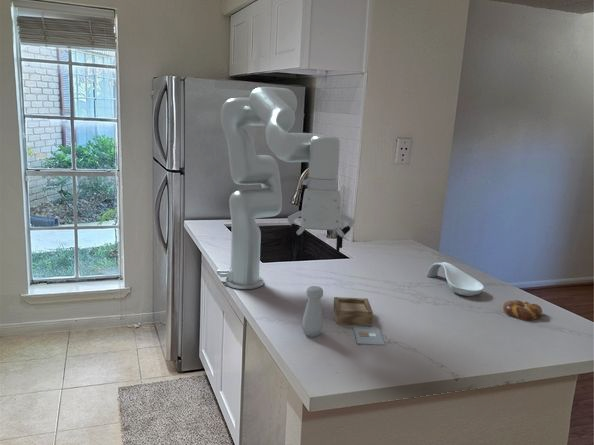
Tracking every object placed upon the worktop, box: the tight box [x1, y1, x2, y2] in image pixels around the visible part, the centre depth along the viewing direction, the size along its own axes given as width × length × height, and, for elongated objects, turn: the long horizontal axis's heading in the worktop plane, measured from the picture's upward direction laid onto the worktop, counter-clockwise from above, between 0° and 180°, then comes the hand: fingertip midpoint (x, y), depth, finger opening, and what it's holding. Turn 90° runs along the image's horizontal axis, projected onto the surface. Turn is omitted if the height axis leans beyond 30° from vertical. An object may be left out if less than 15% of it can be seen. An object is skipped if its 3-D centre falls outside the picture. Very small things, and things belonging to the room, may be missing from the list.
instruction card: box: [352, 325, 386, 346], centre depth 138 cm, size 7×10×1 cm
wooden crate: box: [332, 296, 374, 326], centre depth 150 cm, size 10×10×4 cm
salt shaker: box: [301, 285, 325, 338], centre depth 137 cm, size 6×6×13 cm
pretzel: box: [502, 299, 543, 321], centre depth 160 cm, size 12×11×4 cm
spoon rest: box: [426, 262, 485, 297], centre depth 180 cm, size 24×12×7 cm, turn 25°
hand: (319, 249), depth 136 cm, fingers open, 9 cm apart
